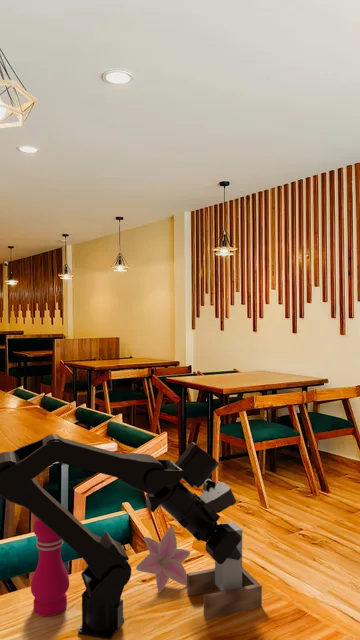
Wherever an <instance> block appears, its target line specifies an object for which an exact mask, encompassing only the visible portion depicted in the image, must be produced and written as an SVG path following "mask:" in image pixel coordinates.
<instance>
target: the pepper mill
mask: <svg viewBox="0 0 360 640" xmlns="http://www.w3.org/2000/svg"><path fill="white" fill-rule="evenodd" d="M33 533H34V535H35V536H36V537H37V538H36V540H35V541H36V548H37V549H38V563H37V566H36V569H35V571H34V573H33V575H32V577H31V582H30V592H31V594H32V596H34V598H33V612H34V613H35V614H37V615H38V616H41V617H52V616H56V615H59V614H60V613H62V612H63V611H65V610H66V608H67V607H68V595H67V594H66V593H67V592H68V590H69V588H70V578H69V577H70V576H69V574H68V570H67V569H66V567H65V564H64V563H63V559H62V549H61V548H62V546H63V544H64V541H63V540H62V539H61V538H60V537H59V536H58V535H56V534H55V533H54V532H53V531H52V530H51V529H50V528H48V527H47V526H46V525H45V524H44V523H43V522H42V521H41V520H39V519H38V518H37V517H36V518H35V519H34V523H33Z"/></svg>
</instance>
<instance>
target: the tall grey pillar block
mask: <svg viewBox="0 0 360 640" xmlns="http://www.w3.org/2000/svg"><path fill="white" fill-rule="evenodd" d="M217 524H218V525H219V524H220V523H217ZM222 524H228V525H230V526H231V527H232V528H233V529H234V530H235V531H236V532H237V533H238V534H239V535H240V536H242V538H241V541H240V543H239V544H238V545H237V546H236V547H237V549H238V550H239V552H240V554H241V555H242V556H241V558H240V559H239V560H235V559H230V558H227V559H226V560H225V562H224V563H223V564H219V563H217V562H216V561H215V560H214V568H215V584H216V586H217V587H218V588H219V589H218V590H219V591H220V592H221V591H226V590H231V589H235V588H240V587H242V567H243V528H241V527H240V526H239V525H238V524H236V523H235V522H234V521H230V522H224V523H223V522H222ZM215 531H216V530H215Z"/></svg>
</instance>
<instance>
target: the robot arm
mask: <svg viewBox="0 0 360 640" xmlns="http://www.w3.org/2000/svg"><path fill="white" fill-rule="evenodd" d="M55 463H60V464H64V465H68V466H71V467H76V468H80V469H82V470H83V469H84V470H87V471H91V472H94V473H98V474H102V475H106V476H111V477H114V478H117V479H119V480H121V481H123V482H124V483H126V484H128V485H129V486H131V487H133V488H134V489H137V490H139V491H141V492H142V493H145V498H146V499H145V506H146V507H147V508H148V510H149V511H150V512H151V513H154V512H155V511H156V510H157V509H158V508H159V506H160V507H161V508H162V509H163V510H165V511H166V512H167V513H168V514H169V515H170V516H171V517H172V518H173V519H174V520H176V521H177V523H179V525H180V526H181V527H182V528H183V529H185V530H187V531H188V532H189V533H190V534H191V535H192V537H194V538H195V539H196V541H198V542H200V541H201V542H204V543H205V551H206V553H207V554H208V555H209V556H210V557H211V558H212V560H214V562H215V561H216V562H217V563H219V564H223V563H224V562H225V560H226V559H227V558H230V559H235V560H239V559H240V558H241V556H242V557H243V554H242V555H241V554H240V552H239V550H238V549H237V547H236V546H237V545H238V544H239V543H240V541H241V538H242V539H243V535H242V536H240V535H239V534H238V533H237V532H236V531H235V530H234V529H233V528H232V527H231V526H230V525H228V524H222V523H223V522H222V523H218V520H220V519H221V516H220V515H219V514H220V513H221V512H223V511H224V510H226V509H228V508H229V507H233V506H234V505H235V504H236V503H237V499H236V497H235V495H234V492H233V491H232V488H231V487H230V486H229V485H228V484H227V483H225V482H224V481H219V480H217V482H215V481H213V480H212V479H211V478H209V477H211V475H212V474H213V473H214V472H215V470H216V469H217V468H218V466H219V465H220V464H219V462H218V460H216V459H215V458H214V457H213V456H212V455H210V454H209V453H208V452H206V451H205V450H203V448H201V447H200V446H199V445H198V444H197V443H195V442H193V441H191V442H190V443H189V445H188V446H187V447H186V449H185V451H184V452H183V453H182V454H181V455H180V456H179V457H178V459H177V460H176V461H175V462H174V461H172V460H171V459H158V458H156V457H155V456H153V455H151V454H148V453H139V452H138V453H136V452H135V453H134V452H130V453H119V452H115V451H112V450H108V449H103V448H101V447H96V446H93V445H91V444H86V443H82V442H79V441H76V440H71V439H68V438H64V437H62V436H60V435H58V434H53V433H51V434H48V435H46V436H45V437H43V438H40V439H39V440H37V441H33V442H31V443H28V444H25V445H22V446H21V447H19V448H18V447H17V449H14V450H13V451H3V452H0V498H3V499H5V500H6V501H8V502H10V503H12V504H13V505H14V504H15V505H17V506H20V507H23V508H25V509H27V510H28V511H29V512H30V513H31V514H32V515H34V516H35V517H36V518H38V519H39V520H41V521H42V522H43V523H44V524H45V525H46V526H47V527H48V528H50V529H51V530H52V531H53V532H54V533H55V534H56V535H58V536H59V537H60V538H61V539H62V540H63V543H66V544H67V545H68V546H69V547H70V548H71V549H72V550H74V552H76V554H78V555H79V556H80V557H81V558H82V559H83V560H84V562H85V564H87V566H86V567H85V568H84V570H83V571H81V578H82V580H83V583H84V586H85V590H84V591H83V592H82V594H81V625H80V626H79V628H78V629H77V633H78V634H79V635H86V636H92V637H97V638H101V639H107V640H108V639H112V638H113V637H114V635H115V634H116V633H117V631H118V630H119V628H120V627H121V626H122V624H123V622H124V621H125V615H124V600H123V599H121V597H122V594H123V591H124V588H125V587H126V586H127V585H128V582H129V581H130V580H131V576H132V567H131V564H130V563H129V561H128V560H130V557H129V556H128V554H127V552H126V550H125V548H124V547H123V545H122V543H121V542H119V541H117V540H115V539H113V537H112V536H111V535H110V533H109V532H108V531H105V532H104V534H103V535H102V536H99V535H97V534H95V533H93V532H92V531H91V530H90V529H89V528H87V526H85V525H84V524H83V523H82V522H81V521H80V520H79V519H78V518H76V517H75V516H74V515H73V514H72V513H71V512H70V511H69V510H68V509H66V508H65V507H64V505H62V504H61V503H60V502H59V501H57V500H56V499H55V498H54V497H53V496H52V495H51V494H50V493H49V492H48V491H47V490H45V488H43V487H42V486H41V485H40V483H39V482H38V480H37V479H36V477H37V476H39V475H40V474H41V473H43V472H44V471H45V470H46V469H48V468H49V467H50V466H52V465H54V464H55ZM182 479H183V481H184V482H185V483H187V484H188V486H190V487H191V488H192V489H193V488H194V487H196V488H197V489H199V488H202V491H201V492H202V494H200V495H199V496H198V495H197V494H196V493H195V492H192V490H190V489H189V488H188V487H186V486H185V484H184V483H183V482H182V481H181V480H182ZM218 524H219V525H218ZM215 530H216V531H215Z"/></svg>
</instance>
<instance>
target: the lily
mask: <svg viewBox="0 0 360 640" xmlns="http://www.w3.org/2000/svg"><path fill="white" fill-rule="evenodd" d="M176 536H177V535H176V532H175V529H174V526H172V525H171V526H170V527H168V529H167V530H166V531H165V533H164V534H163V536H162V538H161V540H160V542H158V541H157V540H155V539H153V538H150V537H148V536H144V538H143V539H144V543H145V545H146V548H147V551H148V552H149V554H147V556H145V557H144V558H143V559H142V560H141V561H140V562H139V563H138V564H137V566H136V568H135V569H136V570H137V571H138V572H142V573H146V574H155V583H156V587H157V592H158V593H161V592H162V591H163V590H164V588H165V587H166V586H167V584H168V582H169V580H172V581H174V582H177V583H179V584H181V585H182V586H186V587H187V571H186V569H185V567H184V565H183V563H184V561H185V560H187V558H188V557H189V556H190V555H191V551H189V550H187V549H182V548H178V547H177V546H178V543H177V537H176Z"/></svg>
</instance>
